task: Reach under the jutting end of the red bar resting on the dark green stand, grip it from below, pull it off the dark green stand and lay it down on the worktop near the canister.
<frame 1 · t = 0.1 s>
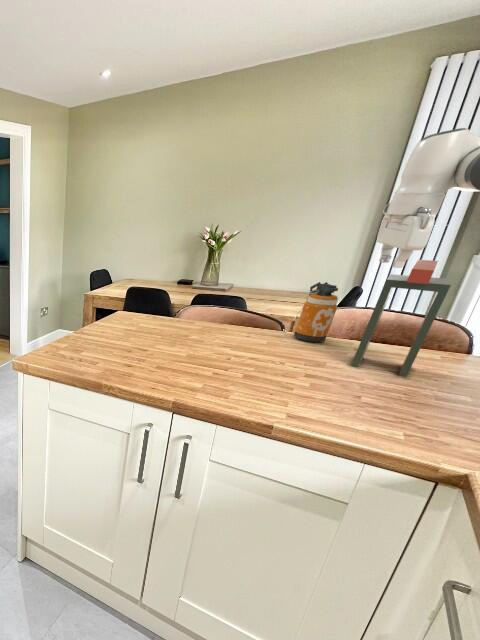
hand: (390, 264, 104), 31 cm above the countertop, tool pointing down, fingers open, 8 cm apart
canister: (306, 338, 145), on the countertop
dark green stand: (379, 366, 120), on the countertop
red bar: (419, 277, 111), point 26 cm above the countertop, touching dark green stand
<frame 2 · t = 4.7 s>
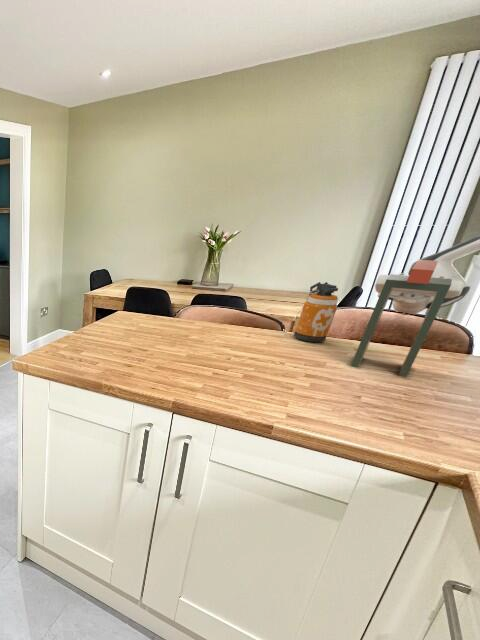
hand: (421, 276, 129), 22 cm above the countertop, tool pointing upward, fingers open, 8 cm apart
nothing on the countertop moved.
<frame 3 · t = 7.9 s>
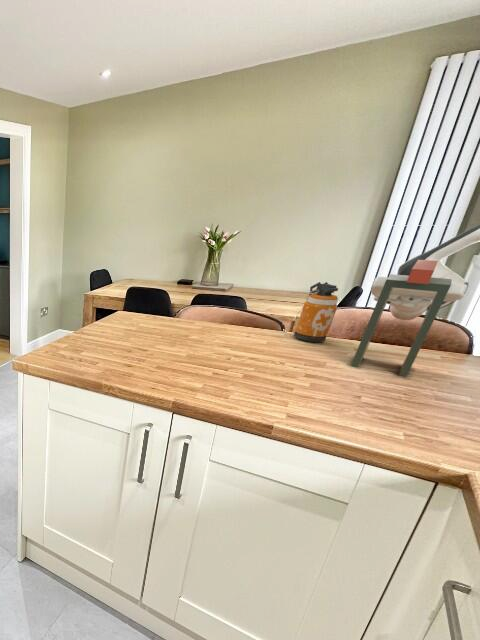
hand: (419, 278, 120), 24 cm above the countertop, tool pointing upward, fingers open, 8 cm apart
nothing on the countertop moved.
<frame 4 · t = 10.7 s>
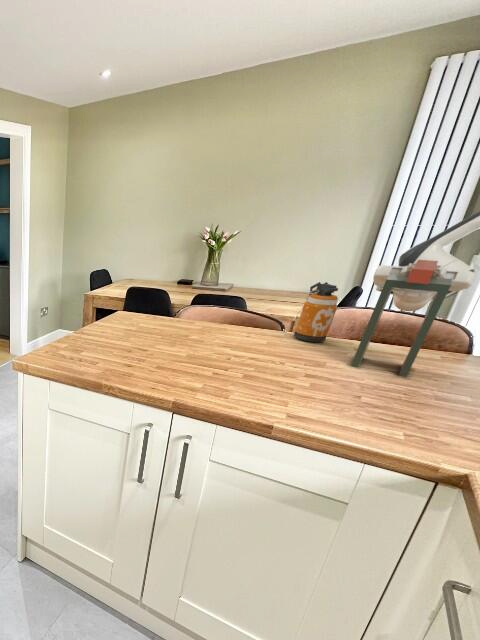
hand: (425, 266, 114), 28 cm above the countertop, tool pointing upward, fingers closed on red bar, 4 cm apart
red bar: (420, 277, 111), point 26 cm above the countertop, touching gripper, dark green stand
everything else where it was.
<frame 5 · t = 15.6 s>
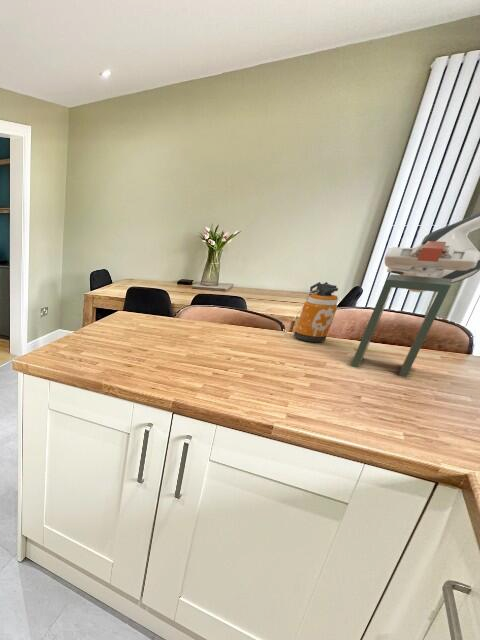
hand: (433, 247, 122), 32 cm above the countertop, tool pointing upward, fingers closed on red bar, 4 cm apart
red bar: (429, 256, 119), point 30 cm above the countertop, touching gripper
everything else where it was.
when the fingers open (10 cm above the countertop, at t = 20.7 s): red bar drops 5 cm, on the countertop.
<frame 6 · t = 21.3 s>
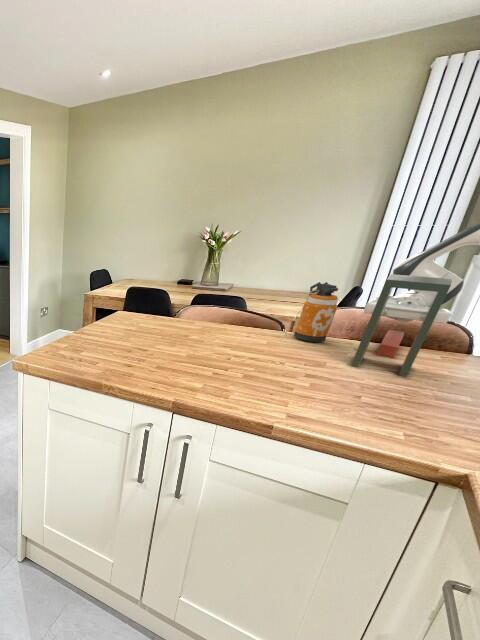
hand: (403, 316, 131), 11 cm above the countertop, tool horizontal, fingers open, 8 cm apart
red bar: (388, 347, 134), on the countertop
everything else where it was.
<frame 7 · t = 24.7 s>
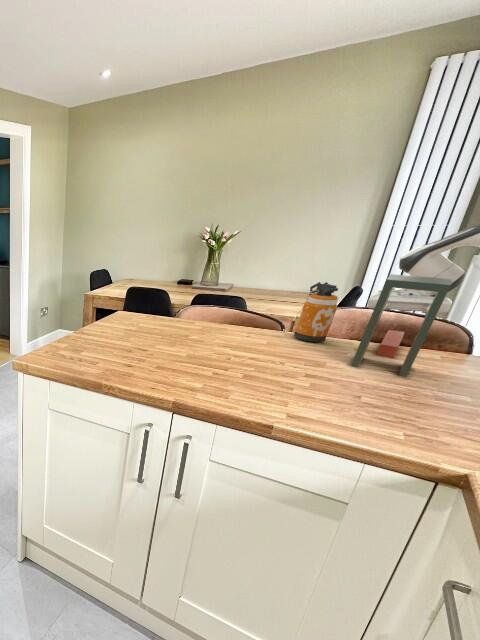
hand: (405, 309, 138), 11 cm above the countertop, tool horizontal, fingers open, 8 cm apart
nothing on the countertop moved.
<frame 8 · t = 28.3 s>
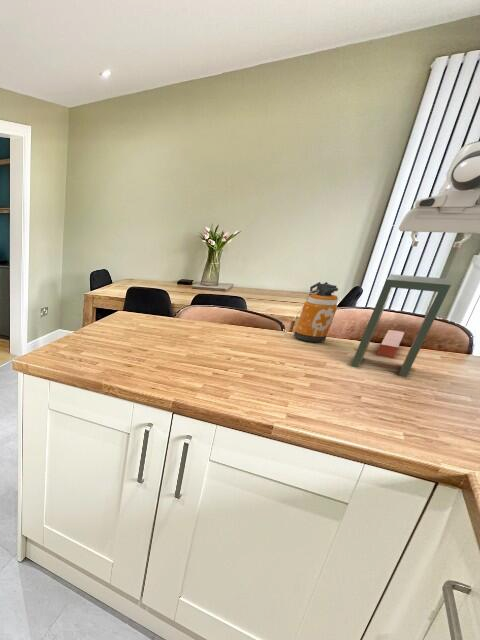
hand: (434, 247, 130), 31 cm above the countertop, tool pointing down, fingers open, 8 cm apart
nothing on the countertop moved.
at the end: red bar inside the target area (2.7 cm from its centre), on the countertop; red bar moved 32.5 cm from its start; canister moved 0.2 cm from its start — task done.
